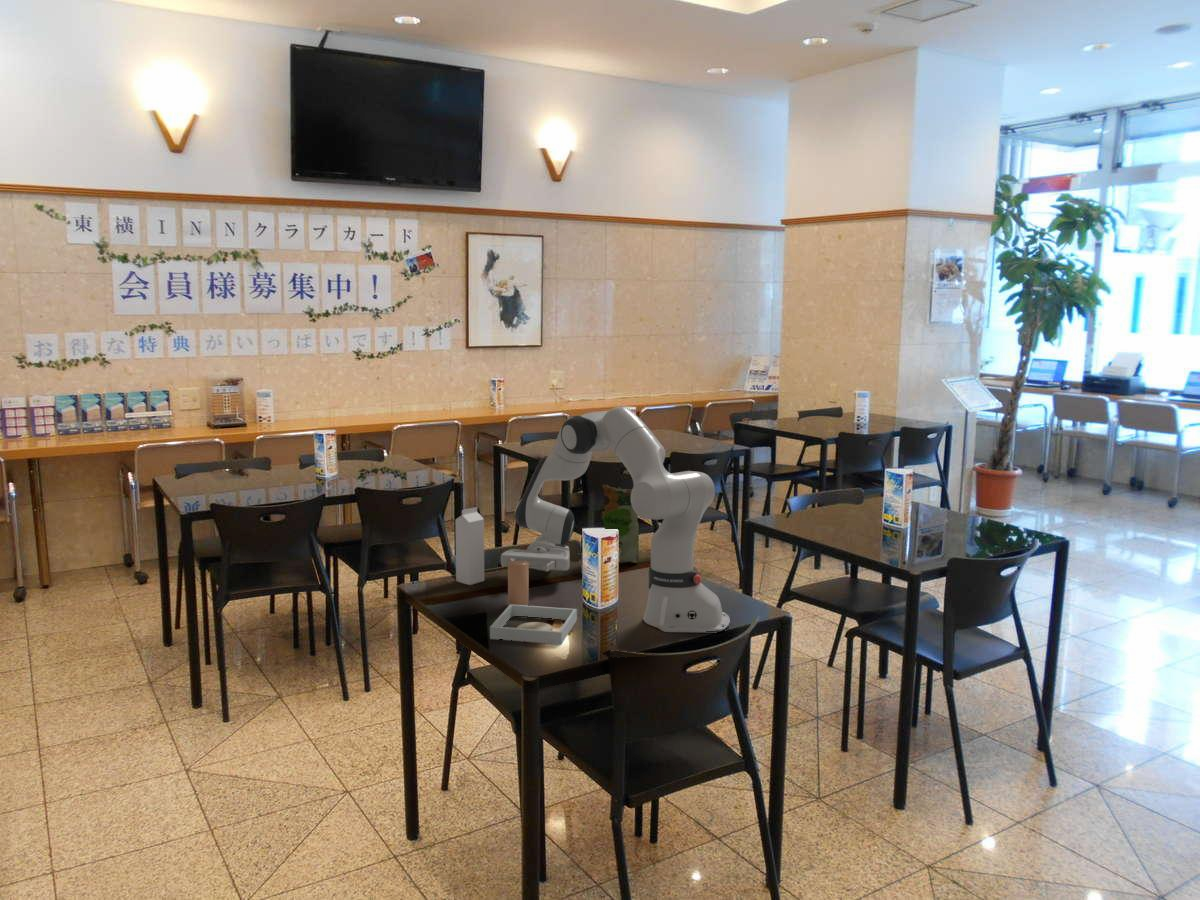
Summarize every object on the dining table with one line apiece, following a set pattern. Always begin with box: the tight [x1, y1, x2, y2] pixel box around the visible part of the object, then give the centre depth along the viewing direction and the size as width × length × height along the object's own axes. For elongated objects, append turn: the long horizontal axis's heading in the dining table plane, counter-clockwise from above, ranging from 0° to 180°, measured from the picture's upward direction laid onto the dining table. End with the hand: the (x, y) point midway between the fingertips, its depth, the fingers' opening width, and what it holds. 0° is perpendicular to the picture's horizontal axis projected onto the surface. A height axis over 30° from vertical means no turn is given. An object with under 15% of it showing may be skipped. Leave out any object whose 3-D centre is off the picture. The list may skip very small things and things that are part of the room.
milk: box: [454, 506, 485, 586], centre depth 273 cm, size 6×6×22 cm
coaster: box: [516, 621, 553, 631], centre depth 234 cm, size 9×9×1 cm
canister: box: [507, 560, 530, 607], centre depth 252 cm, size 6×6×12 cm
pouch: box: [601, 483, 640, 564], centre depth 295 cm, size 11×12×25 cm
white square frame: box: [489, 604, 578, 645], centre depth 234 cm, size 18×18×3 cm
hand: (529, 567), depth 263 cm, fingers open, 8 cm apart
